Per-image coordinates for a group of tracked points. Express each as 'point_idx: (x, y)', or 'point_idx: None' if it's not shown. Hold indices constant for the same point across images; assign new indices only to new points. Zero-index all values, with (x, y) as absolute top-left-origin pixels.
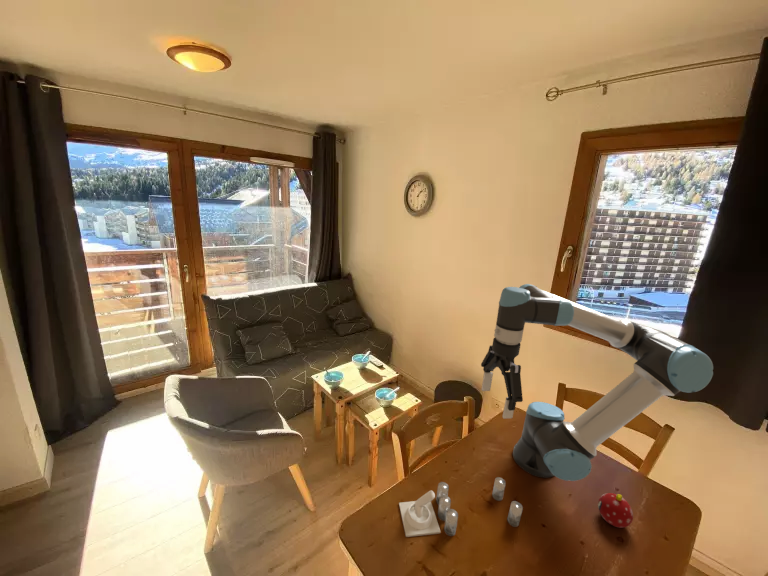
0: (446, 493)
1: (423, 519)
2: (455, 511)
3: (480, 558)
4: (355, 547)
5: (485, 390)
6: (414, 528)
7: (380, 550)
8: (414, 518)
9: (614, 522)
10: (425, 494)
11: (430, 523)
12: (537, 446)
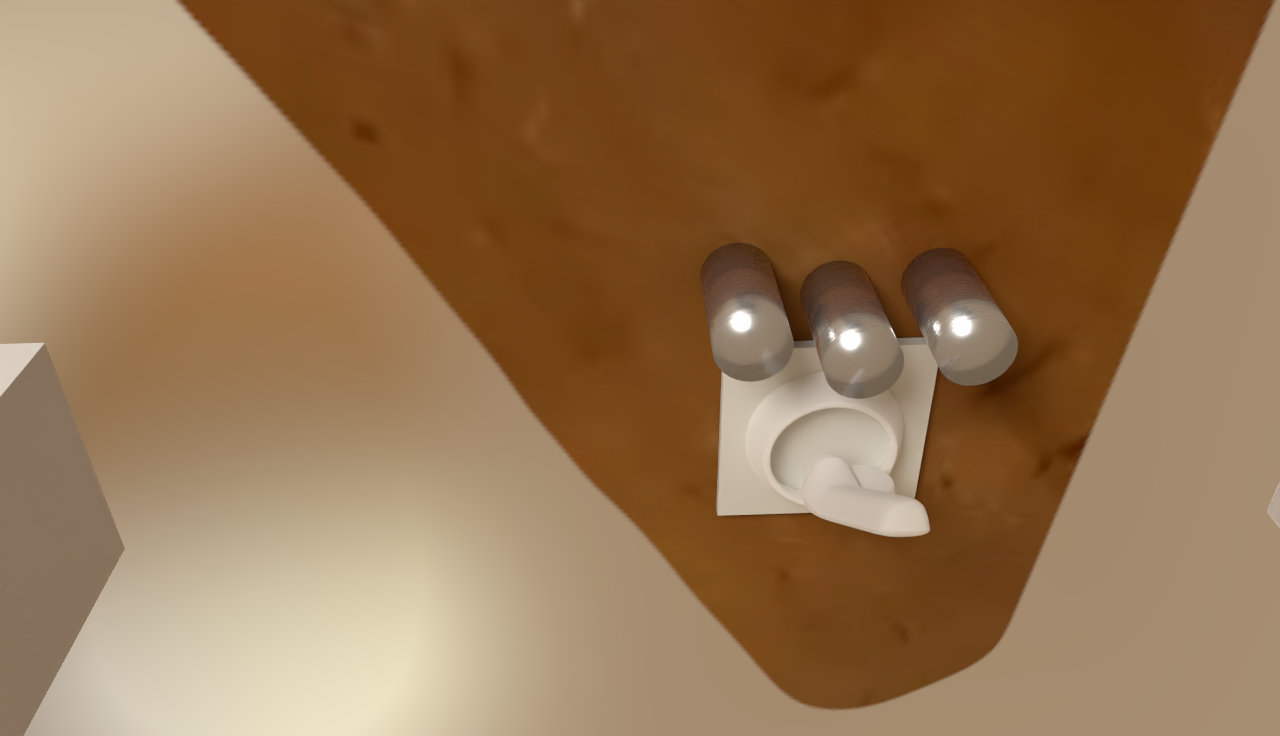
0: (786, 318)
1: (847, 415)
2: (964, 326)
3: (1146, 157)
4: (897, 682)
5: (83, 485)
6: None
7: (938, 603)
8: None
9: None
10: (860, 529)
11: None
12: None
